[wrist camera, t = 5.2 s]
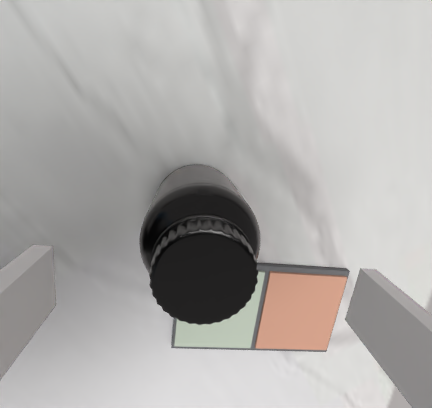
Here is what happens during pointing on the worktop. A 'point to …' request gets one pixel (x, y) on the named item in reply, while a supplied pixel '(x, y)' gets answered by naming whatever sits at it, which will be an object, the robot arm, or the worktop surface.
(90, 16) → the worktop surface
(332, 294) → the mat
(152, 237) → the supplement bottle
